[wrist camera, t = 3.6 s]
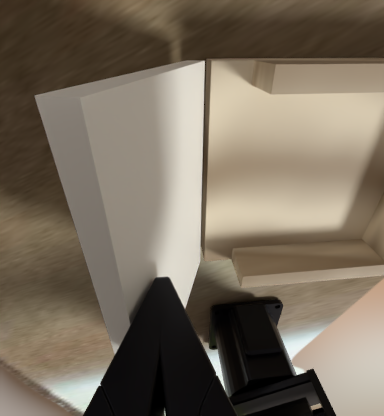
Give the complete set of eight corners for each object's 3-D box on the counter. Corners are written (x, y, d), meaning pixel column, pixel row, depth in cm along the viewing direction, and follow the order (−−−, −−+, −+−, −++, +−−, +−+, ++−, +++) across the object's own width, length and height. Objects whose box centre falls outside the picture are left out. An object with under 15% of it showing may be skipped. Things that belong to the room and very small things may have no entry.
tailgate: (200, 261, 18) (150, 417, 10) (188, 259, 18) (132, 411, 10) (204, 60, 11) (80, 97, 4) (186, 60, 11) (34, 95, 4)
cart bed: (356, 235, 20) (395, 274, 17) (201, 246, 19) (210, 290, 16) (436, 57, 13) (527, 62, 10) (206, 58, 12) (223, 65, 9)
